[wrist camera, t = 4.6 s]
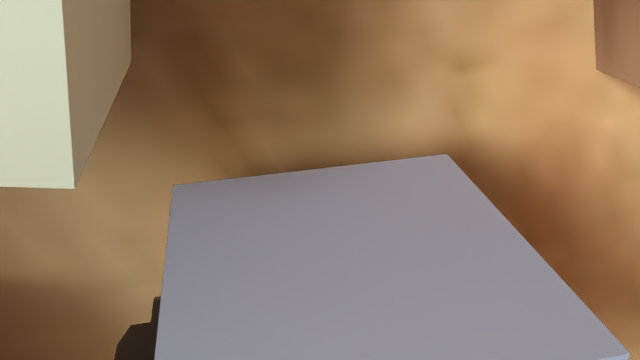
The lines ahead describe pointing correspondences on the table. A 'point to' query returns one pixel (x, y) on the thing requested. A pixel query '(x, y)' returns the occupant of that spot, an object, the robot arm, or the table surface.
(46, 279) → the table surface
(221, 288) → the slate blue block
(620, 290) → the table surface
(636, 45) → the walnut block
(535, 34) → the table surface
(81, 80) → the sage block
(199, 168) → the table surface
